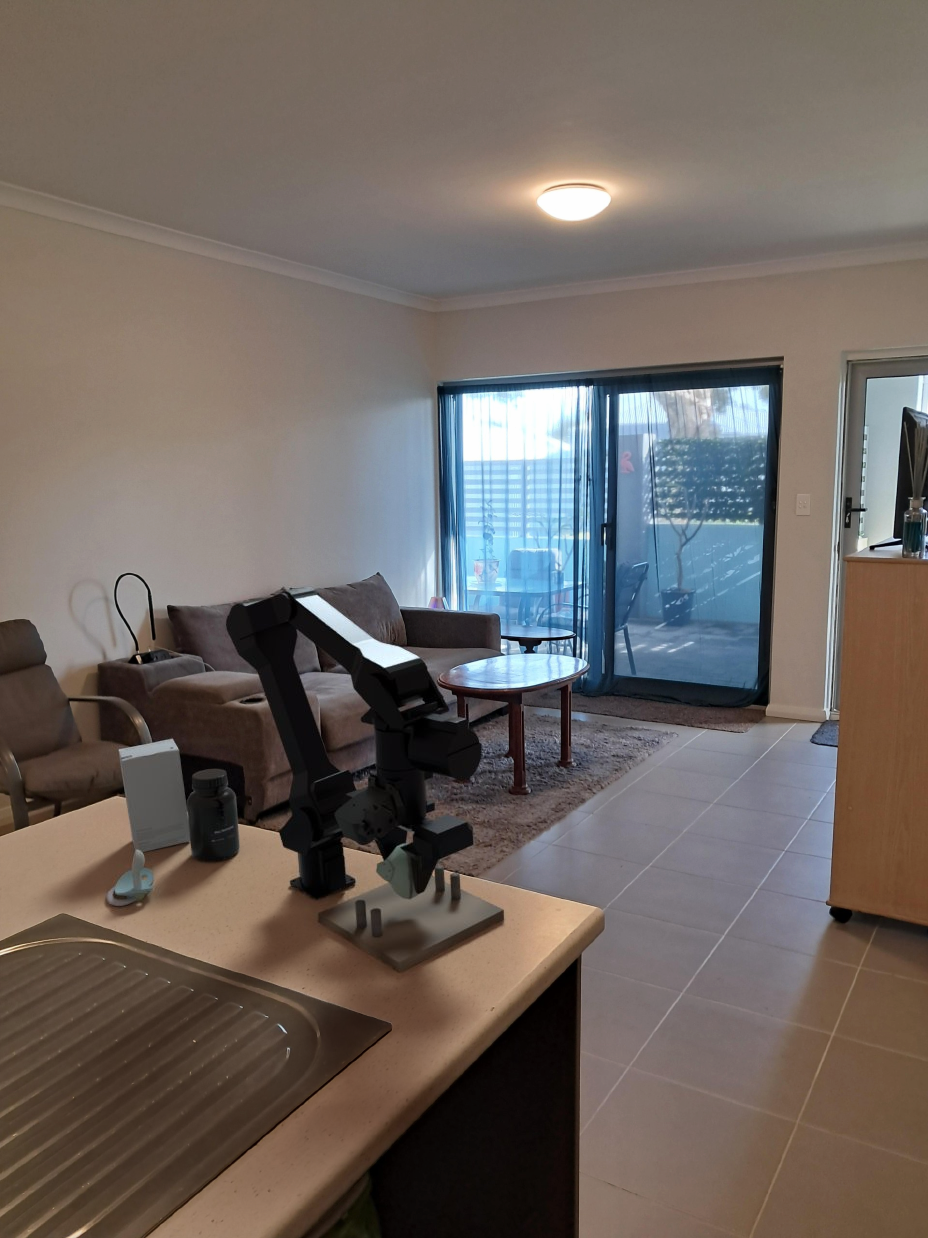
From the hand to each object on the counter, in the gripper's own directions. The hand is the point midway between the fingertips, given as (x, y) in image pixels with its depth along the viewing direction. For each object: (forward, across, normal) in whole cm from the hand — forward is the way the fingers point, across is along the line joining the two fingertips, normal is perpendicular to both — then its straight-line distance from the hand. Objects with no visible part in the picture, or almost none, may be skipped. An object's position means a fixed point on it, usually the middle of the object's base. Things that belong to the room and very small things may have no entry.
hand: (408, 886), depth 113 cm
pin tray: (+4, 0, 0) cm, 4 cm away
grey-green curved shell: (+2, 0, 0) cm, 2 cm away
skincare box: (+5, -46, -11) cm, 47 cm away
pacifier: (+5, -32, -21) cm, 39 cm away
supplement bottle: (+5, -36, -7) cm, 37 cm away
